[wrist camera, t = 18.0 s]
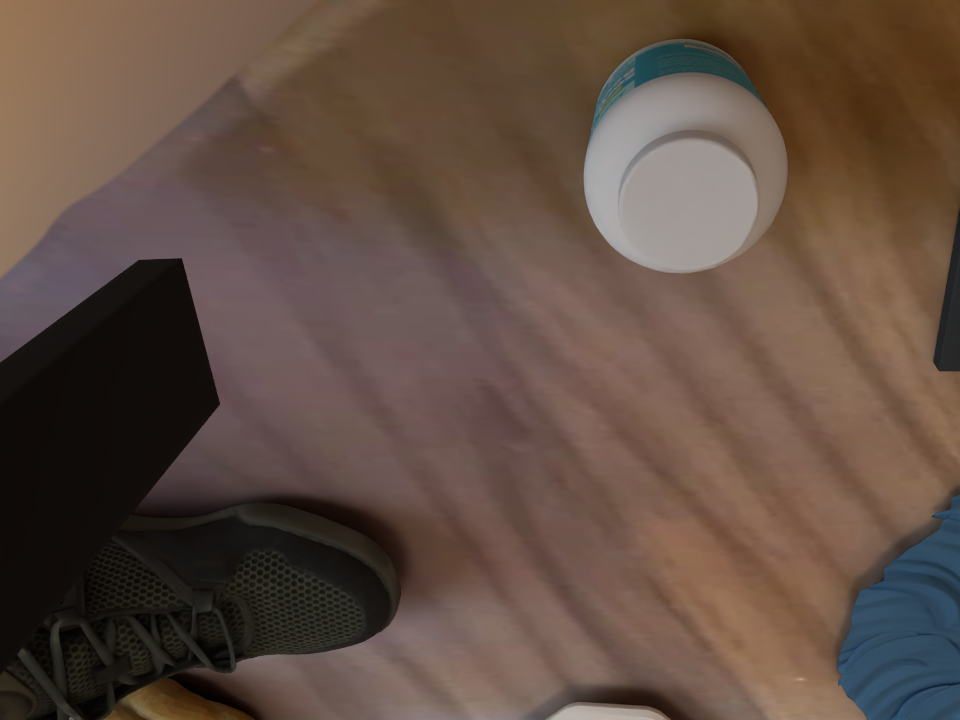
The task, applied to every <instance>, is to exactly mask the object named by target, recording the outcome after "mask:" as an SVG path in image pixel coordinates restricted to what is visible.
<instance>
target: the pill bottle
mask: <svg viewBox="0 0 960 720" xmlns="http://www.w3.org/2000/svg"><path fill="white" fill-rule="evenodd" d="M787 175H788V163H787V153H786V148H785V144H784V140H783V137H782V135H781V132H780V130H779V128H778V126H777V124H776V122H775V120H774V119H773V117H772V115H771V113H770V112H769V110H768V109H767V107H766V105H765V104H764V102H763V100H762V99H761V97H760V96H759V94H758V92H757V91H756V89H755V87H754V86H753V84H752V82H751V81H750V79H749V77H748V76H747V74H746V73H745V71H744V70H743V68H742V67H741V66H740V65H739V64H738V63H737V62H736V61H735V60H734V59H733V58H732V57H731V56H730V55H728V54H727V53H725V52H724V51H723V50H721V49H719V48H717V47H715V46H713V45H711V44H708V43H705V42H702V41H698V40H692V39H671V40H665V41H661V42H657V43H654V44H651V45H649V46H646V47H644V48H642V49H640V50H638V51H637V52H635V53H633V54H632V55H631V56H629V57H628V58H627V59H626V60H624V61H623V62H622V63H621V64H620V65H619V66H618V67H617V68H616V69H615V71H614V72H613V73H612V74H611V75H610V77H609V79H608V80H607V82H606V83H605V85H604V87H603V89H602V91H601V93H600V96H599V98H598V102H597V105H596V109H595V114H594V119H593V124H592V129H591V134H590V139H589V144H588V148H587V153H586V159H585V165H584V191H585V198H586V202H587V206H588V209H589V212H590V214H591V216H592V219H593V221H594V223H595V225H596V226H597V228H598V230H599V231H600V233H601V234H602V235H603V237H604V238H605V239H606V241H607V242H608V243H609V244H610V245H611V246H612V247H613V248H614V249H616V250H617V251H618V252H619V253H620V254H622V255H623V256H625V257H626V258H628V259H629V260H631V261H633V262H635V263H637V264H639V265H642V266H644V267H647V268H650V269H653V270H657V271H662V272H669V273H692V272H699V271H704V270H708V269H711V268H715V267H717V266H720V265H722V264H725V263H727V262H729V261H731V260H733V259H734V258H736V257H738V256H739V255H741V254H742V253H744V252H745V251H746V250H748V249H749V248H750V247H751V246H752V245H754V244H755V243H756V242H757V241H758V240H759V239H760V238H761V237H762V236H763V234H764V233H765V232H766V230H767V229H768V228H769V227H770V225H771V223H772V222H773V220H774V218H775V217H776V215H777V213H778V211H779V209H780V206H781V203H782V201H783V198H784V194H785V190H786V184H787Z"/></svg>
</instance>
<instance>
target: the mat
mask: <svg viewBox="0 0 960 720" xmlns="http://www.w3.org/2000/svg"><path fill="white" fill-rule="evenodd" d="M933 362H934V364H935V366H936V367H937V369H938V370H939V371H960V211H959V217H958V223H957V229H956V234H955V240H954V246H953V252H952V257H951V263H950V269H949V275H948V281H947V286H946V292H945V298H944V304H943V309H942V315H941V321H940V327H939V333H938V338H937V344H936V350H935V356H934V361H933Z"/></svg>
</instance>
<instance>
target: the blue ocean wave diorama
mask: <svg viewBox="0 0 960 720" xmlns="http://www.w3.org/2000/svg"><path fill="white" fill-rule="evenodd" d="M932 517H935V518H942V519H945V520H944V521H943V522H942V524H941V526H940V528H939V530H938V531H936V532H935V533H933V534H931V535H930V536H928V537H927V538H925V539H924V540H923V541H921V542H920V543H918V544H916V545H915V546H913V547H911V548H910V549H908V550H907V551H906V552H904V553H903V554H902V555H901V556H900V557H897V558H895V559H894V560H893V562H892V563H891V564H890V565H889V566H887V567H886V568H885V569H884V578H883V579H882V581H881V582H880V583H877V584H874V585H872V586H871V587H868V588H865V589H862V590H860V593H859V595H858V597H857V599H856V602H855V605H854V608H853V610H852V614H851V620H852V626H851V628H850V630H849V632H848V635H847V637H846V639H845V641H844V643H843V645H842V647H841V653H840V655H839V657H838V663H837V668H838V670H839V672H840V674H841V676H842V677H841V678H840V679H839V682H838V686H839V685H842V687H843V689H844V691H845V693H846V695H847V696H848V697H849V698H850V699H852V700H853V701H854V702H855V703H856V705H857V706H858V707H859V708H860V709H861V711H862V712H863V713H864V714H865V716H866V717H867V720H960V495H957V496H955V497H953V498H952V505H951V510H949V511H943V512H938V513H935V514H934V515H933V516H932Z"/></svg>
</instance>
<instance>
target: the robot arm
mask: <svg viewBox="0 0 960 720" xmlns="http://www.w3.org/2000/svg"><path fill="white" fill-rule="evenodd" d="M219 405H220V402H219V398H218V395H217V391H216V387H215V383H214V379H213V375H212V372H211V368H210V364H209V360H208V356H207V353H206V349H205V345H204V341H203V337H202V333H201V330H200V326H199V322H198V318H197V314H196V311H195V307H194V303H193V299H192V295H191V291H190V288H189V284H188V280H187V276H186V272H185V269H184V265H183V261H182V258H177V259H151V260H138V261H137V262H136V263H134V264H133V265H132V266H130V267H129V268H127V269H126V270H125V271H123V272H122V273H121V274H119V275H118V276H117V277H115V278H114V279H113V280H111V281H110V282H109V283H107V284H106V285H105V286H103V287H102V288H100V289H99V290H98V291H96V292H95V293H94V294H92V295H91V296H90V297H88V298H87V299H86V300H84V301H83V302H82V303H80V304H79V305H78V306H76V307H75V308H73V309H72V310H71V311H69V312H68V313H67V314H65V315H64V316H63V317H61V318H60V319H59V320H57V321H56V322H55V323H53V324H52V325H51V326H49V327H48V328H46V329H45V330H44V331H42V332H41V333H40V334H38V335H37V336H36V337H34V338H33V339H32V340H30V341H29V342H28V343H26V344H25V345H24V346H22V347H21V348H19V349H18V350H17V351H15V352H14V353H13V354H11V355H10V356H9V357H7V358H6V359H5V360H3V361H2V362H1V363H0V675H1V674H2V673H3V671H4V670H5V669H6V668H7V667H8V665H9V664H10V663H11V662H12V660H13V659H14V658H15V657H16V655H17V654H18V653H19V652H20V650H21V649H22V648H23V647H24V646H25V644H26V643H27V642H28V641H29V639H30V638H31V637H32V636H33V634H34V633H35V632H36V631H37V630H38V628H39V627H40V626H41V625H42V623H43V622H44V621H45V620H46V618H47V617H48V616H49V615H50V613H51V612H52V611H53V610H54V609H55V607H56V606H57V605H58V604H59V602H60V601H61V600H62V599H63V597H64V596H65V595H66V594H67V592H68V591H69V590H70V589H71V588H72V586H73V585H74V584H75V583H76V581H77V580H78V579H79V578H80V576H81V575H82V574H83V573H84V571H85V570H86V569H87V568H88V567H89V565H90V564H91V563H92V562H93V560H94V559H95V558H96V557H97V555H98V554H99V553H100V552H101V551H102V549H103V548H104V547H105V546H106V544H107V543H108V542H109V541H110V539H111V538H112V537H113V536H114V534H115V533H116V532H117V531H118V530H119V528H120V527H121V526H122V525H123V523H124V522H125V521H126V520H127V518H128V517H129V516H130V515H131V513H132V512H133V511H134V510H135V509H136V507H137V506H138V505H139V504H140V502H141V501H142V500H143V499H144V497H145V496H146V495H147V494H148V492H149V491H150V490H151V489H152V488H153V486H154V485H155V484H156V483H157V481H158V480H159V479H160V478H161V476H162V475H163V474H164V473H165V471H166V470H167V469H168V468H169V467H170V465H171V464H172V463H173V462H174V460H175V459H176V458H177V457H178V455H179V454H180V453H181V452H182V451H183V449H184V448H185V447H186V446H187V444H188V443H189V442H190V441H191V439H192V438H193V437H194V436H195V434H196V433H197V432H198V431H199V430H200V428H201V427H202V426H203V425H204V423H205V422H206V421H207V420H208V418H209V417H210V416H211V415H212V413H213V412H214V411H215V410H216V409H217V407H218V406H219Z"/></svg>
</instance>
